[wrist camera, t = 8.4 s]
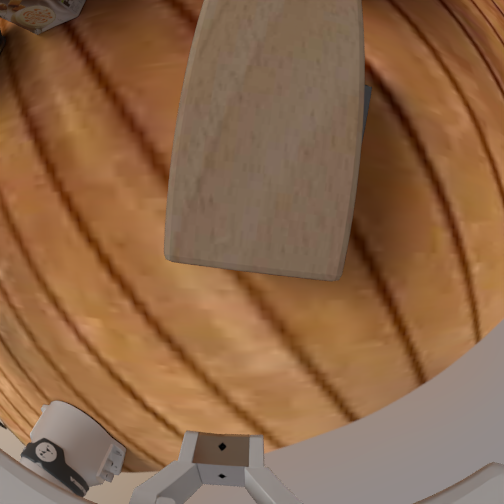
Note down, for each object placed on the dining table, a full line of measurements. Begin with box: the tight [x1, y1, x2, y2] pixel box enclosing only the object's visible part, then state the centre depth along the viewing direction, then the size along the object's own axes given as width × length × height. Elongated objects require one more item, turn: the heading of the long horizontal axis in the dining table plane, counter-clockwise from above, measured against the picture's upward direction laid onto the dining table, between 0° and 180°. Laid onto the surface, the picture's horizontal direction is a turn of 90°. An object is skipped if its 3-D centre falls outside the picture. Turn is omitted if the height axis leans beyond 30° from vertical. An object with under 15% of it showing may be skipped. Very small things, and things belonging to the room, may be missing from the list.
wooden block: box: [164, 0, 365, 281], centre depth 17 cm, size 10×10×20 cm
